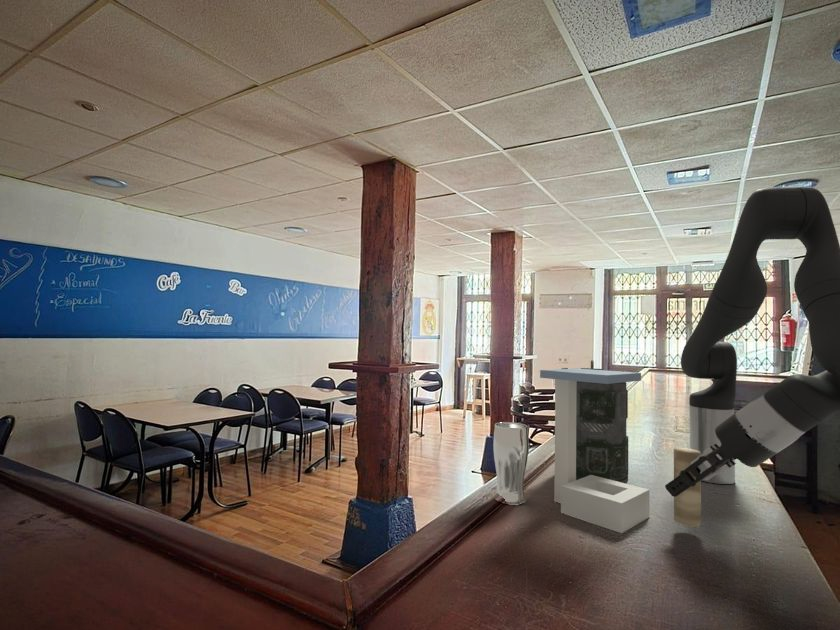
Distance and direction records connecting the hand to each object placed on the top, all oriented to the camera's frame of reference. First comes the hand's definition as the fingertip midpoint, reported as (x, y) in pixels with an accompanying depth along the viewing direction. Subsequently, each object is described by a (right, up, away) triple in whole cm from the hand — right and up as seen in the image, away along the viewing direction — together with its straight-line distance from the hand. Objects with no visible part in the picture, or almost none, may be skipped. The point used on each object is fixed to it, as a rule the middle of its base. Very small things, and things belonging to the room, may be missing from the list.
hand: (674, 488), depth 79 cm
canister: (-4, -9, +28) cm, 29 cm away
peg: (+1, -5, -2) cm, 5 cm away
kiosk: (-11, -7, +7) cm, 15 cm away
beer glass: (-26, -7, +12) cm, 30 cm away
